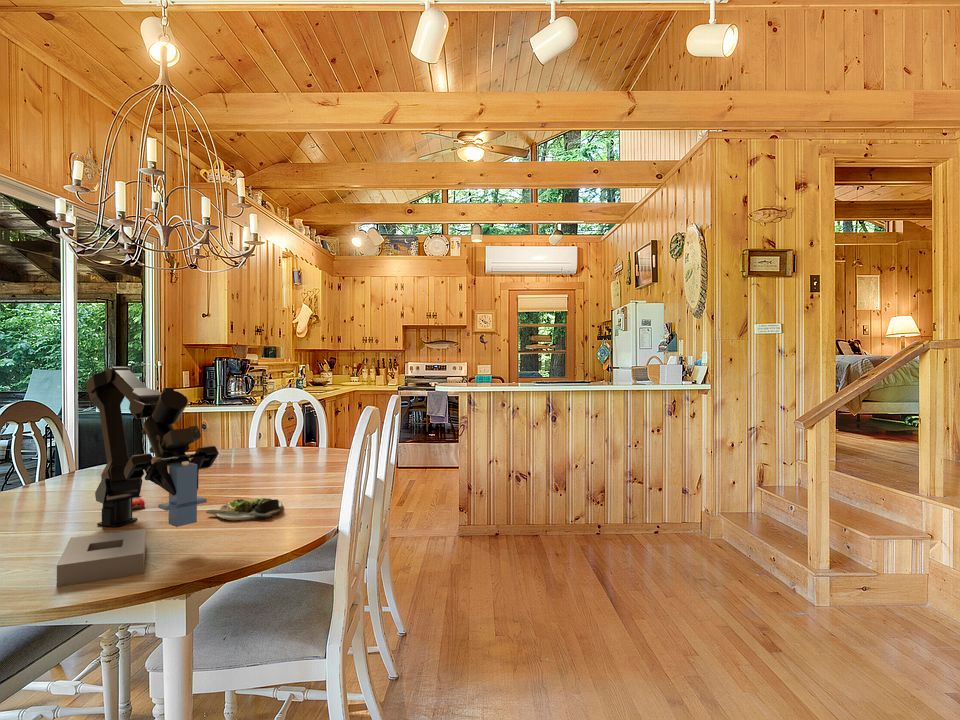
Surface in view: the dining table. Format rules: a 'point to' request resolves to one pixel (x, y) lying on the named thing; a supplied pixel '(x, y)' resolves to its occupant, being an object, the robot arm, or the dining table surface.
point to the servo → (183, 495)
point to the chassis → (102, 557)
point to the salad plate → (248, 509)
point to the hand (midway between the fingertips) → (185, 492)
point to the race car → (138, 503)
